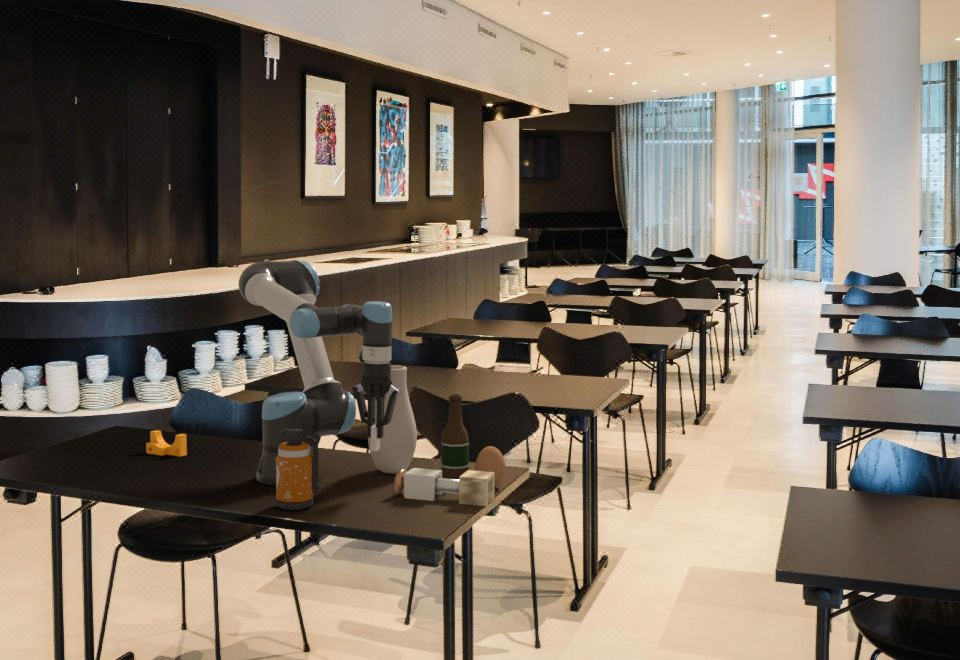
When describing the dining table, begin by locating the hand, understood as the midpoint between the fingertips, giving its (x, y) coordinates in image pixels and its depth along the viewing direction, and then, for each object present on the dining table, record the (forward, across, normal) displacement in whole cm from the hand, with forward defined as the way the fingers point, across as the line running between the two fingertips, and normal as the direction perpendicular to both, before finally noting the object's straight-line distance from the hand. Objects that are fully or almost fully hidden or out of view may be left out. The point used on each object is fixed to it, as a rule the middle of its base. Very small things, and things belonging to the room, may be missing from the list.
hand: (375, 449), depth 273 cm
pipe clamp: (+14, -75, +18) cm, 78 cm away
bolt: (+10, +19, -1) cm, 22 cm away
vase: (+12, -3, +20) cm, 24 cm away
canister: (+11, -12, -20) cm, 26 cm away
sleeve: (+11, +14, -1) cm, 18 cm away
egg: (+11, +28, +13) cm, 33 cm away
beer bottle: (+11, +17, +16) cm, 26 cm away
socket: (+10, +28, -1) cm, 30 cm away
